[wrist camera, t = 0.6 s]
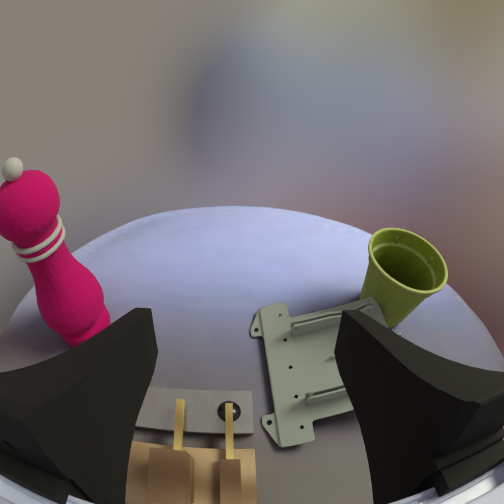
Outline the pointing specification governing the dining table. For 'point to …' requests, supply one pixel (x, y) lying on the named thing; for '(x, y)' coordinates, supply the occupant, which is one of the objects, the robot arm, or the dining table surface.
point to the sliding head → (171, 468)
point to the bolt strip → (196, 411)
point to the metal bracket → (304, 367)
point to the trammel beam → (202, 471)
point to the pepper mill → (49, 255)
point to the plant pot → (401, 272)
